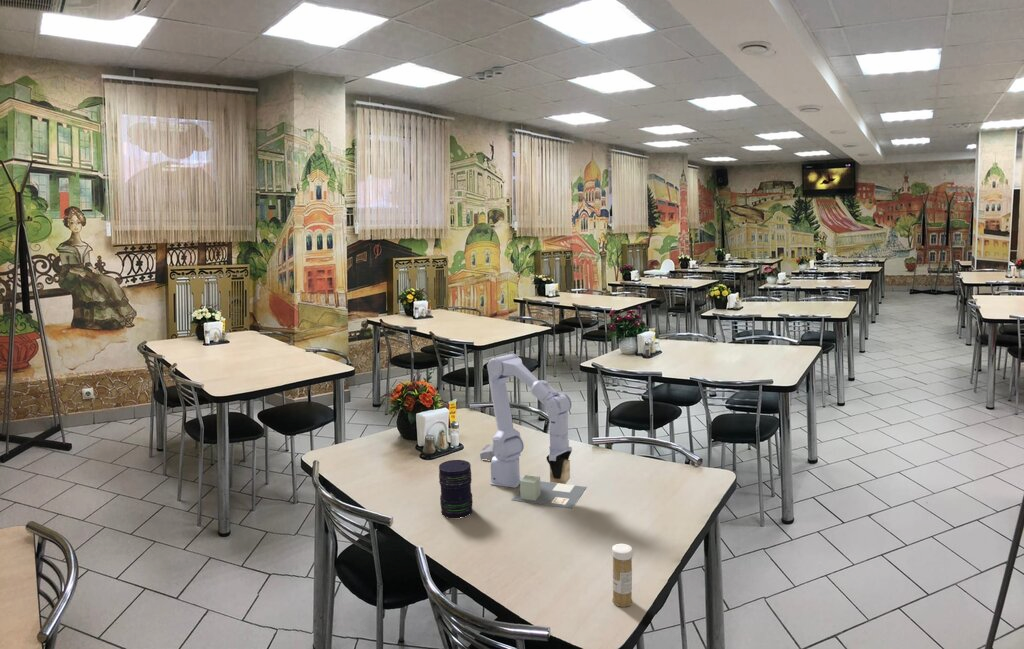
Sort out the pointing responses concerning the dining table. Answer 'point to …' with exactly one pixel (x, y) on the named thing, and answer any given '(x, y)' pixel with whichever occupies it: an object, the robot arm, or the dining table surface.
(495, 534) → the dining table surface
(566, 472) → the maple block
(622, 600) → the sprinkles bottle
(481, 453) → the stone block
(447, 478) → the storage jar
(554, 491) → the slate mat
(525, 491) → the sage block
